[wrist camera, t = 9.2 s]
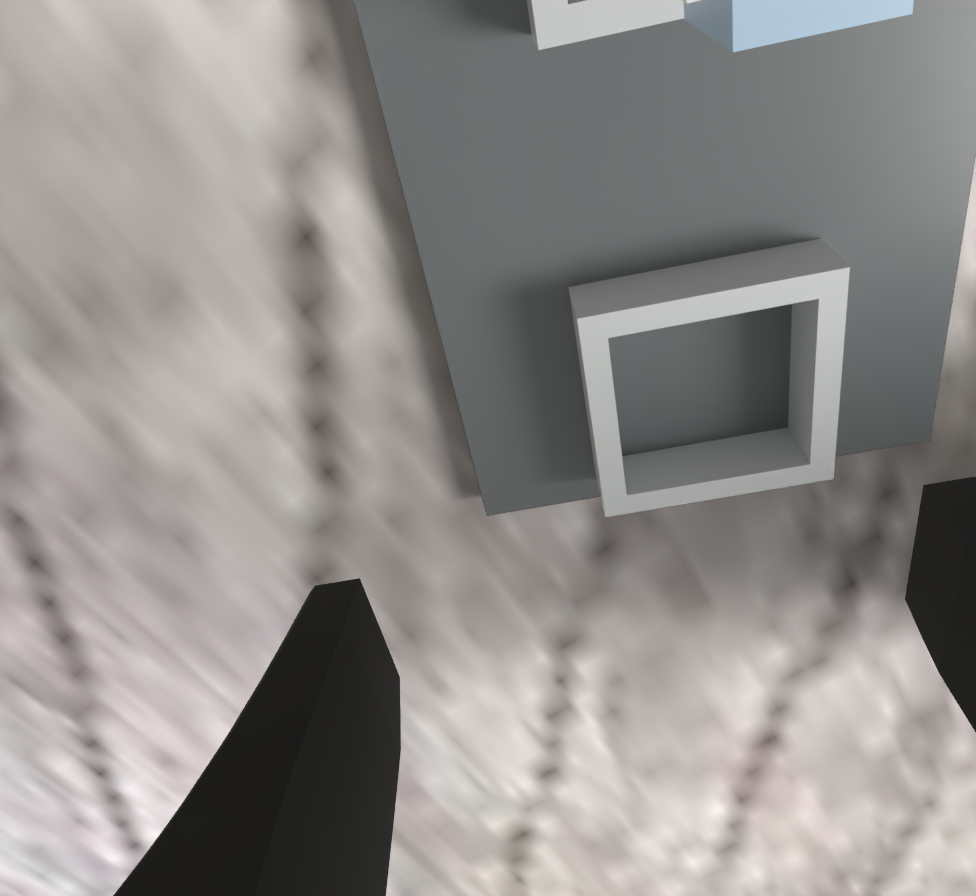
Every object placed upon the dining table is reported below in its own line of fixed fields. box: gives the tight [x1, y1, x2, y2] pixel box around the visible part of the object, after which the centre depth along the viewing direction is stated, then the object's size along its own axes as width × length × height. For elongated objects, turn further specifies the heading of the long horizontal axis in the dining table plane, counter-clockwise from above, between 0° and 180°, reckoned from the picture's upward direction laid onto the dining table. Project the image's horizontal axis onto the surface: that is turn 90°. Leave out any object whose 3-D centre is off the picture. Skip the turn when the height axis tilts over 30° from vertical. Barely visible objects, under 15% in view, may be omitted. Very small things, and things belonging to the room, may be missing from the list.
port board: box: [354, 0, 976, 517], centre depth 16 cm, size 12×18×2 cm, turn 11°
